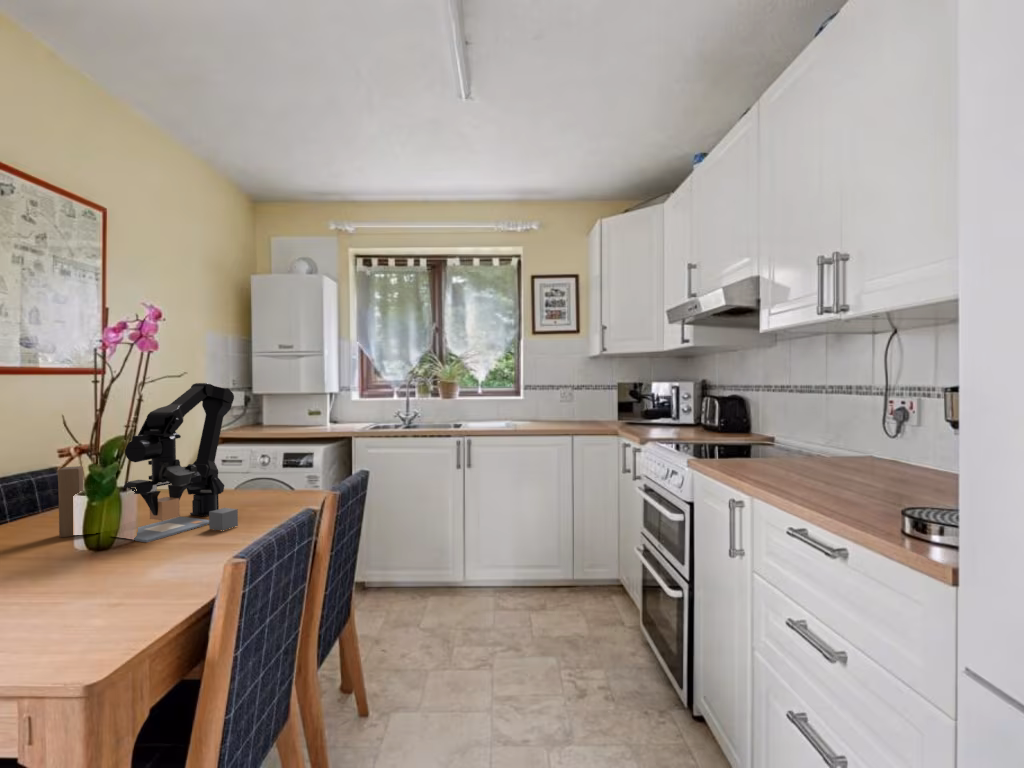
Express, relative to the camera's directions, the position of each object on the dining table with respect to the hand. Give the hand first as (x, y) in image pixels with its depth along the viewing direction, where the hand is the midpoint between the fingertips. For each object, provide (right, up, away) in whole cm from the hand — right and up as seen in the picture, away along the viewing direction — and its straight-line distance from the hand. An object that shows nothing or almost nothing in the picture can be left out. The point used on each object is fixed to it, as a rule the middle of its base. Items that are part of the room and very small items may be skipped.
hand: (164, 513), depth 155 cm
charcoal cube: (+16, -5, +1) cm, 16 cm away
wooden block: (-20, -5, -4) cm, 21 cm away
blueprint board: (0, -5, 0) cm, 5 cm away
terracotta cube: (0, -1, 0) cm, 1 cm away
